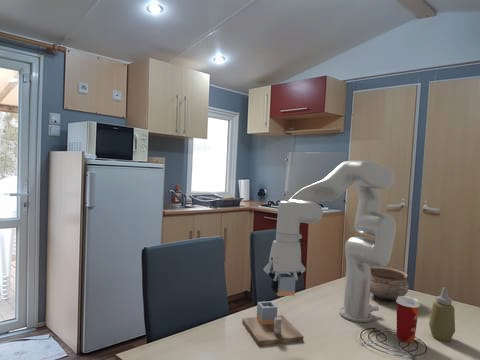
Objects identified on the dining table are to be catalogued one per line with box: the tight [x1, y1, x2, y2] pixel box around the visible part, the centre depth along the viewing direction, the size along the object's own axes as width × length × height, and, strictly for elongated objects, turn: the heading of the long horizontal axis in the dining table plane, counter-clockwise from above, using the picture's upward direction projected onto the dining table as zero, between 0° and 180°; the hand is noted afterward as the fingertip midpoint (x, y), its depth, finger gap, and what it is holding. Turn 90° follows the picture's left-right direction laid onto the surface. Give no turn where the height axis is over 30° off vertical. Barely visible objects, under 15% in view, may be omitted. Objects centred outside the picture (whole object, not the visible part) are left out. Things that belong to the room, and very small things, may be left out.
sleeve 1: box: [256, 300, 278, 325], centre depth 125 cm, size 6×6×6 cm
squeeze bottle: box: [428, 287, 456, 342], centre depth 123 cm, size 8×8×18 cm
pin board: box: [241, 306, 304, 346], centre depth 121 cm, size 16×17×6 cm
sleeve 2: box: [275, 272, 297, 297], centre depth 116 cm, size 6×6×6 cm
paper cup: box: [395, 295, 421, 344], centre depth 121 cm, size 8×8×14 cm
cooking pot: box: [369, 266, 410, 302], centre depth 160 cm, size 25×19×12 cm
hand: (283, 290), depth 116 cm, fingers closed on sleeve 2, 5 cm apart
